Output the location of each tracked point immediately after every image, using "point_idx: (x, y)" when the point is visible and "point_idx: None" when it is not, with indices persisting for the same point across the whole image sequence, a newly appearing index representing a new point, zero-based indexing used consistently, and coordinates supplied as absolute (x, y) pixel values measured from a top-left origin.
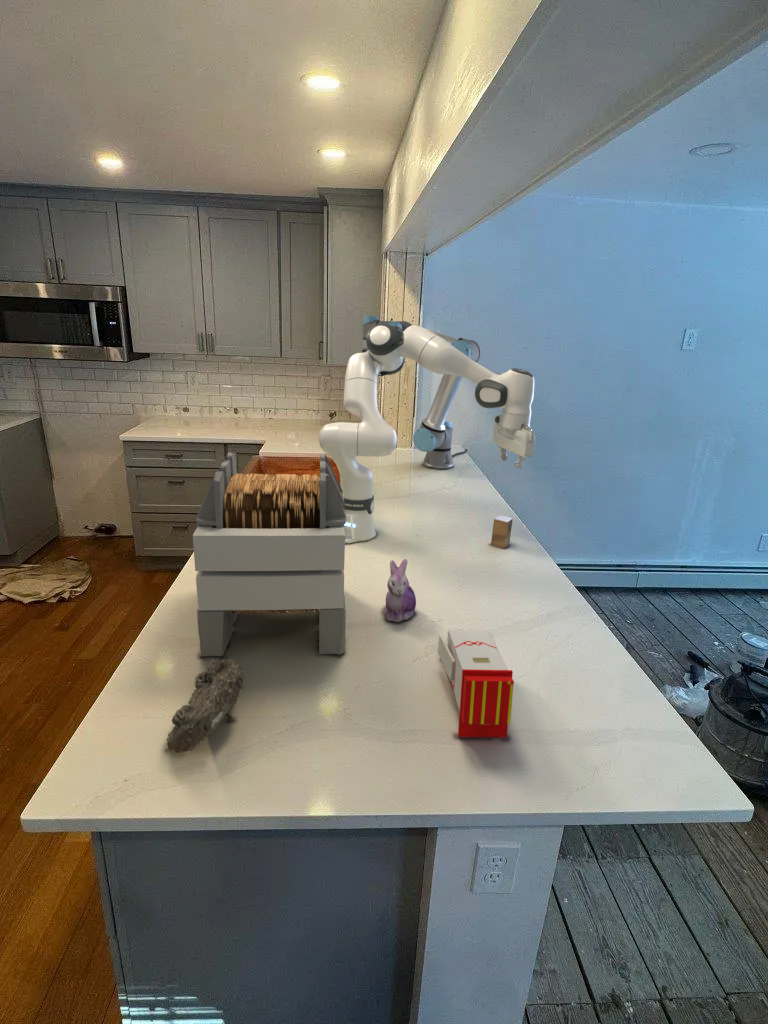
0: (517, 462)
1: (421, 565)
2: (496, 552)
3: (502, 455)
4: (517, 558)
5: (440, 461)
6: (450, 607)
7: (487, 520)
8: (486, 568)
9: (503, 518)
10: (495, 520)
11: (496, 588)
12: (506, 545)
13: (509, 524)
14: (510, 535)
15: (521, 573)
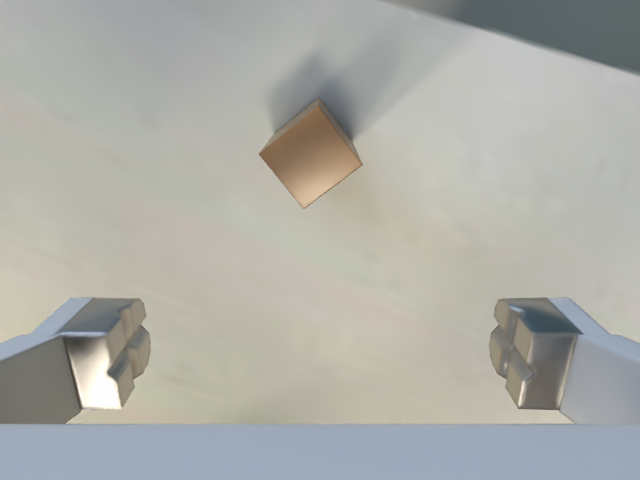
0: (593, 418)
1: None
2: (375, 189)
3: (106, 405)
4: (447, 138)
5: None
6: None
7: (26, 46)
8: (479, 283)
9: (308, 157)
10: (310, 201)
11: (604, 315)
12: (340, 126)
13: (342, 135)
14: (320, 101)
15: (557, 192)
